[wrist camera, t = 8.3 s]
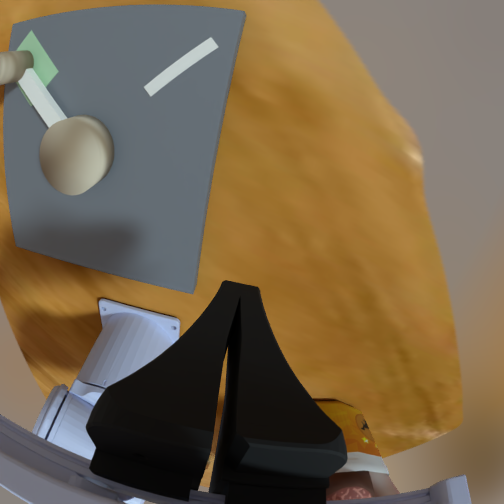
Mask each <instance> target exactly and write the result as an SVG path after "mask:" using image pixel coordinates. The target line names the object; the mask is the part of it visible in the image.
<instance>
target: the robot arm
mask: <svg viewBox="0 0 504 504" xmlns="http://www.w3.org/2000/svg"><path fill="white" fill-rule="evenodd" d="M104 307H105V308H104ZM99 309H100V315H101V321H102V327H103V329H102V331H101V333H100V335H99V336H98V338H97V340H96V342H95V344H94V346H93V347H92V349H91V351H90V353H89V355H88V357H87V359H86V361H85V363H84V364H83V366H82V368H81V370H80V372H79V374H78V376H77V378H76V379H75V380H74V382H73V384H72V386H71V388H70V390H69V391H67V389H68V387H67V386H66V385H65V384H61V386H60V385H58V386H55V387H54V388H53V389H52V391H51V393H50V395H49V396H48V398H47V400H46V402H45V404H44V406H43V408H42V410H41V413H40V415H39V417H38V419H37V422H36V424H35V426H34V428H33V431H32V433H31V432H29V431H28V430H26V429H24V428H22V427H21V426H19V425H17V424H15V423H14V422H12V421H10V420H9V419H7V418H5V417H4V416H2V415H1V414H0V486H2V487H3V488H5V489H7V490H8V491H10V492H11V493H13V494H14V495H16V496H17V497H19V498H20V499H22V500H24V501H25V502H27V503H29V504H143V503H144V501H145V500H146V501H149V502H153V503H157V504H471V500H470V494H469V489H468V485H467V480H466V476H465V475H464V474H463V475H459V476H456V477H452V478H449V479H445V480H442V481H440V482H438V483H436V484H434V485H432V486H431V487H430V488H427V489H422V490H417V491H412V492H407V493H401V494H394V495H387V496H380V497H372V498H362V499H351V500H334V501H326V489H327V488H329V486H330V483H329V476H331V475H332V474H334V473H335V472H337V471H338V470H339V469H341V468H342V467H343V466H344V465H345V464H346V463H347V459H348V457H347V448H346V443H345V439H344V435H343V431H342V429H341V428H340V427H339V426H338V425H337V424H336V423H335V422H334V421H333V420H331V419H330V418H329V417H328V416H327V415H326V414H325V413H324V412H323V411H322V409H321V408H320V407H319V406H318V405H317V404H316V402H315V401H314V400H313V399H312V398H311V396H310V395H309V394H308V392H307V391H306V390H305V388H304V387H303V386H302V384H301V383H300V382H299V380H298V379H297V377H296V376H295V374H294V372H293V371H292V369H291V368H290V366H289V364H288V363H287V361H286V359H285V357H284V355H283V353H282V351H281V350H280V348H279V345H278V343H277V341H276V339H275V337H274V334H273V332H272V329H271V327H270V324H269V321H268V319H267V316H266V313H265V310H264V306H263V303H262V299H261V294H260V290H259V288H258V287H255V286H251V285H246V284H241V283H236V282H232V281H227V280H225V281H223V282H222V284H221V286H220V288H219V290H218V292H217V294H216V295H215V297H214V298H213V300H212V301H211V303H210V304H209V305H208V307H207V308H206V309H205V311H204V312H203V313H202V314H201V316H200V317H199V318H198V319H197V320H196V321H195V322H194V324H193V325H192V326H191V327H190V328H189V329H188V330H187V331H186V332H185V333H184V334H183V335H182V336H181V337H180V338H179V332H180V321H179V319H177V318H174V317H170V316H166V315H162V314H158V313H154V312H150V311H147V310H143V309H139V308H135V307H132V306H128V305H124V304H121V303H117V302H114V301H110V300H107V299H100V301H99ZM174 326H175V327H174ZM227 347H228V356H227V371H226V388H225V399H224V407H223V413H222V419H221V425H220V431H219V436H218V442H217V448H216V454H215V460H214V465H213V471H212V476H211V482H210V487H209V493H207V492H202V491H198V488H199V485H200V482H201V479H202V477H203V474H204V471H205V468H206V465H207V462H208V459H209V455H210V452H211V446H212V440H213V434H214V426H215V418H216V410H217V402H218V395H219V388H220V381H221V374H222V367H223V361H224V358H225V354H226V351H227Z"/></svg>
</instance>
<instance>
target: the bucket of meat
mask: <svg viewBox="0 0 504 504" xmlns="http://www.w3.org/2000/svg"><path fill="white" fill-rule="evenodd" d="M315 402H316V404H317V405H318V406H319V407H320V408H321V409H322V411H323V412H324V413H325V414H326V415H327V416H328V417H329V418H330V419H331V420H333V421H334V422H335V423H336V424H337V425H338V426H339V427H340V428H341V429H342V431H343V435H344V439H345V443H346V448H347V457H348V459H347V463H346V464H345V465H344V466H343V467H342V468H341V469H339V470H338V471H337V472H335V473H334V474H332V475H331V476H329V483H330V486H329V488H327V489H326V501H334V500H351V499H362V498H372V497H380V496H387V495H394V494H400V493H399V491H398V490H397V488H396V487H395V485H394V484H393V482H392V481H391V479H390V477H389V472H388V469H387V466H386V465H385V464H384V462H383V460H382V457H381V455H380V453H379V450H378V448H377V446H376V443H375V441H374V439H373V437H372V434H371V432H370V430H369V428H368V425H367V423H366V421H365V419H364V416H363V414H362V412H361V411H359V410H358V409H356V408H354V407H352V406H349V405H347V404H345V403H342V402H340V401H315Z"/></svg>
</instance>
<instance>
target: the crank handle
mask: <svg viewBox="0 0 504 504" xmlns="http://www.w3.org/2000/svg"><path fill="white" fill-rule="evenodd" d="M33 65H34V58H33V55H32V53H31V52H30V51H28V50H22V51H8V52H0V85H3V84H8V83H13V82H19V84H20V86H21V87H22V89H23V90H24V92H25V93H26V95H27V96H28V98H29V99H30V101H31V102H32V104H33V105H34V107H35V108H36V110H37V111H38V113H39V114H40V116H41V117H42V119H43V120H44V121H45V123H46V124H47V126H48V127H49V129H48V130H47V131H46V133H45V134H44V136H43V138H42V141H41V145H40V164H41V168H42V171H43V173H44V175H45V177H46V179H47V180H48V182H49V183H50V184H51V185H52V186H53V187H54V188H55V189H56V190H57V191H59V192H61V193H63V194H66V195H79V194H82V193H84V192H85V191H87V190H88V189H90V188H91V187H92V186H94V185H95V184H97V183H98V182H99V181H101V180H102V179H103V178H105V176H106V175H107V174H108V173H109V171H110V169H111V167H112V164H113V160H114V143H113V139H112V136H111V134H110V132H109V130H108V128H107V127H106V126H105V124H104V123H103V122H101V121H100V120H99V119H97V118H96V117H94V116H91V115H77V116H74V117H71V118H67V117H66V116H65V114H64V113H63V111H62V110H61V109H60V107H59V106H58V105H57V103H56V102H55V100H54V99H53V97H52V96H51V95H50V93H49V92H48V90H47V89H46V87H45V86H44V84H43V83H42V82H41V80H40V79H39V77H38V76H37V74H36V73H35V71H34V70H33Z"/></svg>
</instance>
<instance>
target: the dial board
mask: <svg viewBox="0 0 504 504" xmlns="http://www.w3.org/2000/svg"><path fill="white" fill-rule="evenodd" d="M245 19H246V14H245V11H239V10H232V9H224V8H214V7H203V6H187V5H128V6H113V7H102V8H92V9H84V10H77V11H71V12H65V13H59V14H54V15H49V16H44V17H39V18H35V19H31V20H27V21H23V22H19V23H16V24H13V27H12V33H11V39H10V45H9V51H22V50H28V51H30V52H31V53H32V55H33V58H34V65H33V70H34V71H35V73H36V74H37V76H38V77H39V79H40V80H41V82H42V83H43V84H44V86H45V87H46V89H47V90H48V92H49V93H50V95H51V96H52V97H53V99H54V100H55V102H56V103H57V105H58V106H59V107H60V109H61V110H62V111H63V113H64V114H65V116H66V117H67V118H71V117H74V116H77V115H91V116H94V117H96V118H97V119H99V120H100V121H101V122H103V123H104V124H105V126H106V127H107V128H108V130H109V132H110V134H111V136H112V139H113V143H114V160H113V164H112V167H111V169H110V171H109V173H108V174H107V175H106V176H105V178H103V179H102V180H101V181H99V182H98V183H97V184H95V185H94V186H92V187H91V188H90V189H88V190H87V191H85V192H84V193H82V194H79V195H66V194H63V193H61V192H59V191H57V190H56V189H55V188H54V187H53V186H52V185H51V184H50V183H49V182H48V180H47V179H46V177H45V175H44V173H43V171H42V168H41V164H40V145H41V141H42V138H43V136H44V134H45V133H46V131H47V130H48V129H49V127H48V126H47V124H46V123H45V121H44V120H43V119H42V117H41V116H40V114H39V113H38V111H37V110H36V108H35V107H34V105H33V104H32V102H31V101H30V99H29V98H28V96H27V95H26V93H25V92H24V90H23V89H22V87H21V86H20V84H19V82H13V83H8V84H5V91H4V116H3V135H4V160H5V174H6V185H7V194H8V202H9V209H10V216H11V222H12V228H13V233H14V238H15V243H16V246H17V247H20V248H23V249H26V250H30V251H33V252H36V253H39V254H43V255H46V256H49V257H53V258H56V259H59V260H63V261H66V262H70V263H73V264H77V265H80V266H84V267H87V268H91V269H95V270H98V271H102V272H106V273H109V274H113V275H117V276H121V277H125V278H128V279H132V280H136V281H140V282H144V283H148V284H152V285H156V286H160V287H165V288H169V289H173V290H177V291H181V292H186V293H190V294H193V293H194V290H195V287H196V284H197V276H198V268H199V261H200V254H201V247H202V240H203V233H204V227H205V220H206V214H207V207H208V201H209V195H210V189H211V183H212V177H213V172H214V166H215V160H216V155H217V149H218V144H219V138H220V133H221V128H222V123H223V118H224V113H225V108H226V103H227V98H228V93H229V88H230V84H231V79H232V74H233V70H234V65H235V61H236V56H237V52H238V48H239V43H240V39H241V35H242V31H243V27H244V23H245Z"/></svg>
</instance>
